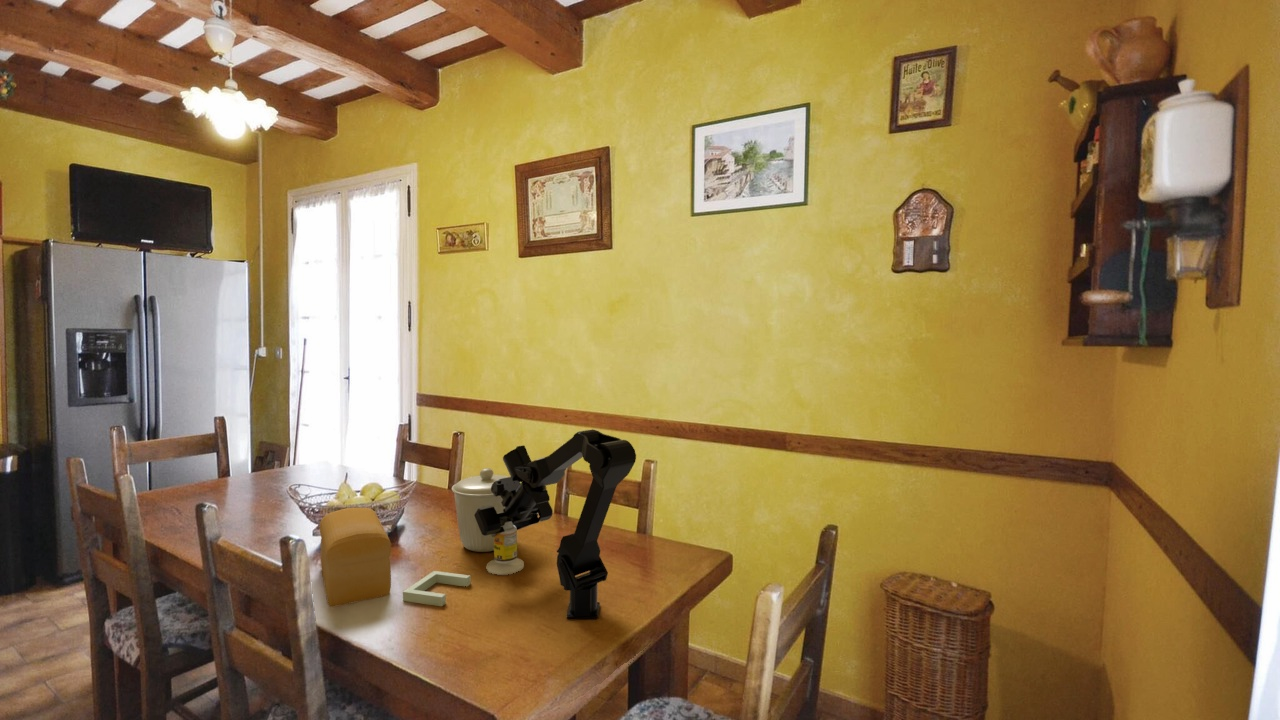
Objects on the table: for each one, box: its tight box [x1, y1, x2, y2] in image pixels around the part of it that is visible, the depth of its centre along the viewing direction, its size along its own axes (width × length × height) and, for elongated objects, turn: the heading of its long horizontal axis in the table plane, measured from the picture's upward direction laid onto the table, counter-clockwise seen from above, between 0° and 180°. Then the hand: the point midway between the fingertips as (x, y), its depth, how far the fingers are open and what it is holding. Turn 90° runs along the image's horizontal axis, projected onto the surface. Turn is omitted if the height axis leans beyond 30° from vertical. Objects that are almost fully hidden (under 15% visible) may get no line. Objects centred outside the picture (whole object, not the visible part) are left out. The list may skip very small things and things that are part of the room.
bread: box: [318, 507, 392, 608], centre depth 139 cm, size 24×13×15 cm, turn 31°
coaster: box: [486, 557, 525, 576], centre depth 148 cm, size 9×9×1 cm
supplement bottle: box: [493, 522, 518, 564], centre depth 147 cm, size 6×6×10 cm
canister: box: [451, 467, 510, 553], centre depth 162 cm, size 18×18×21 cm
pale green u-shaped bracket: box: [402, 570, 472, 607], centre depth 134 cm, size 10×12×2 cm
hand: (502, 532), depth 148 cm, fingers closed on supplement bottle, 5 cm apart
